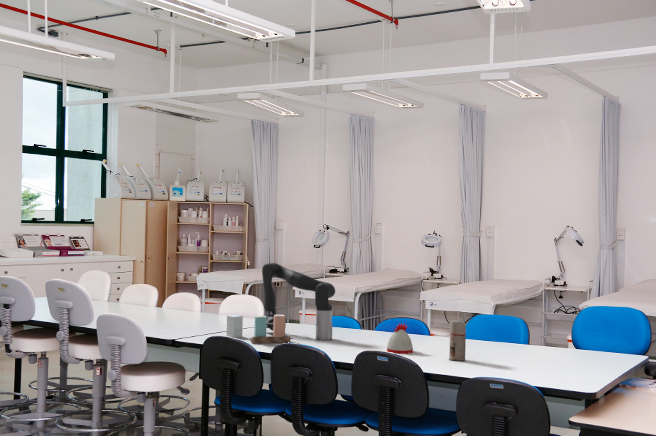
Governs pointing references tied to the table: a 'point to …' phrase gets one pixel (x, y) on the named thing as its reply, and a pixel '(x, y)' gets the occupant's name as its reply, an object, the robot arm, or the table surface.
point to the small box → (234, 325)
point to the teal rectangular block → (260, 326)
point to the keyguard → (270, 339)
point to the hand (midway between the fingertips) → (277, 327)
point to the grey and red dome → (400, 341)
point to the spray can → (457, 340)
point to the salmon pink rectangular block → (279, 325)
